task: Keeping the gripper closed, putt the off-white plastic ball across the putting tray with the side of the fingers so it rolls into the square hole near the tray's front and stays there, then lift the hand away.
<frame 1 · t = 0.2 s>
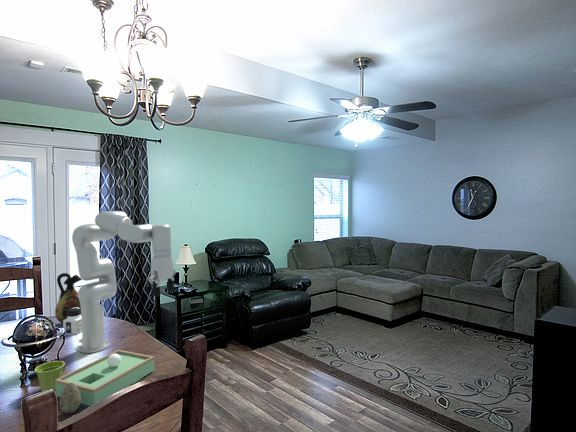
hand: (163, 293, 153), 31 cm above the table, tool pointing down, fingers open, 9 cm apart
ball: (114, 360, 141), point 7 cm above the table, touching putting tray
putting tray: (108, 382, 138), on the table
container: (74, 332, 195), on the table
plant pot: (51, 389, 135), on the table
decorative egg: (71, 413, 119), on the table
ceramic jug: (69, 324, 208), on the table
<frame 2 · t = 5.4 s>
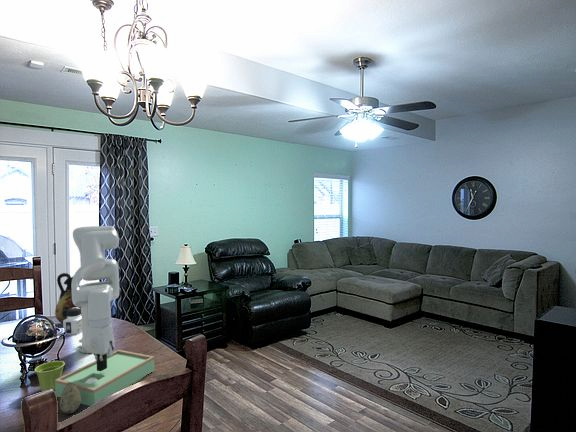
hand: (102, 369, 136), 6 cm above the table, tool pointing down, fingers closed
ball: (91, 385, 131), point 3 cm above the table, tilted 98°, touching putting tray
everything else where it was.
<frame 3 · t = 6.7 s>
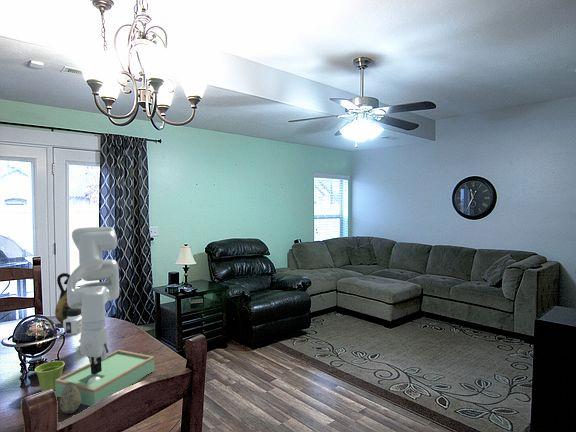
hand: (96, 372, 134), 6 cm above the table, tool pointing down, fingers closed
ball: (94, 383, 132), point 3 cm above the table, tilted 125°, touching putting tray
everything else where it was.
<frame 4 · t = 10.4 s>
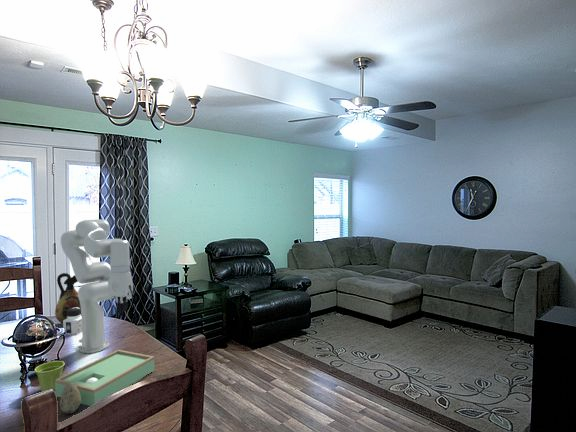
hand: (122, 311, 153), 23 cm above the table, tool pointing down, fingers closed
ball: (91, 385, 131), point 3 cm above the table, tilted 100°, touching putting tray
everything else where it was.
at the end: ball 0.6 cm from the target spot on the putting tray, point 2.8 cm above the putting tray's base; the gripper is holding nothing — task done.
